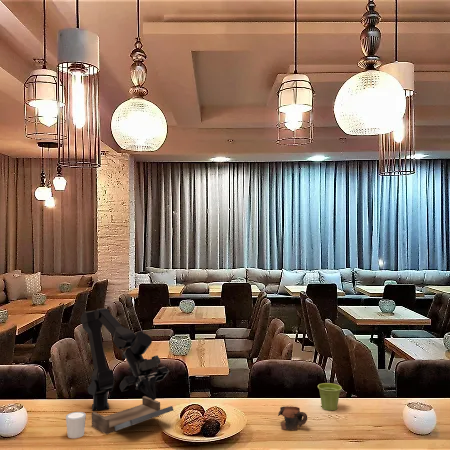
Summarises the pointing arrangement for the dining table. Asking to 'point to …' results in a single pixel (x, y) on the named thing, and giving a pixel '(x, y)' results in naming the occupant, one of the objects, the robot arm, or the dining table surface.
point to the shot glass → (75, 424)
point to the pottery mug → (292, 417)
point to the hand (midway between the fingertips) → (154, 399)
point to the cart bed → (124, 415)
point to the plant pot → (329, 395)
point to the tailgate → (143, 418)
